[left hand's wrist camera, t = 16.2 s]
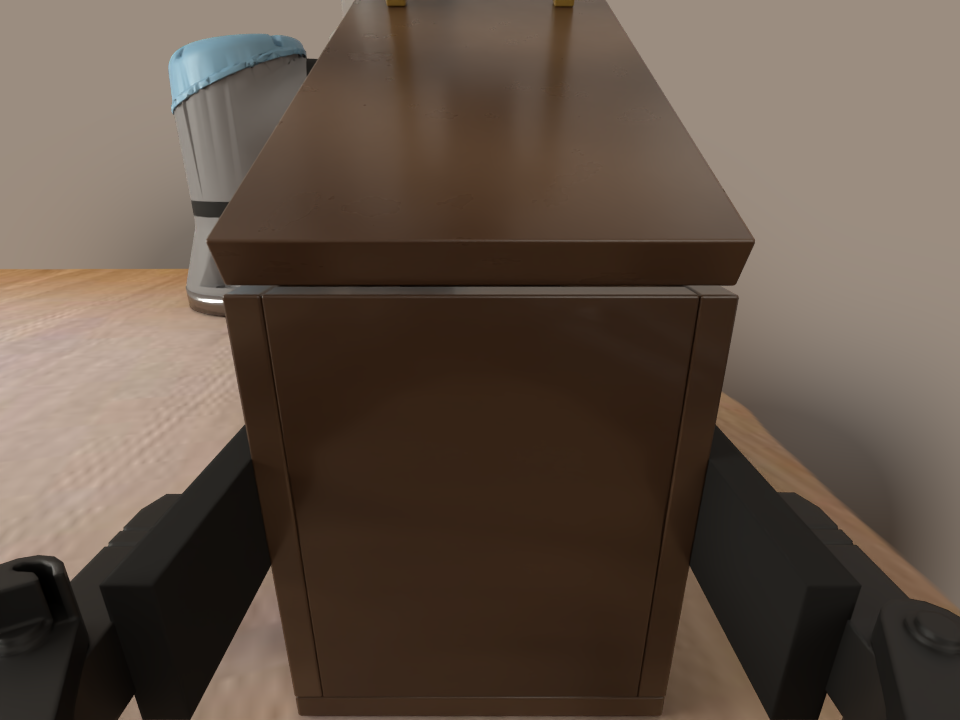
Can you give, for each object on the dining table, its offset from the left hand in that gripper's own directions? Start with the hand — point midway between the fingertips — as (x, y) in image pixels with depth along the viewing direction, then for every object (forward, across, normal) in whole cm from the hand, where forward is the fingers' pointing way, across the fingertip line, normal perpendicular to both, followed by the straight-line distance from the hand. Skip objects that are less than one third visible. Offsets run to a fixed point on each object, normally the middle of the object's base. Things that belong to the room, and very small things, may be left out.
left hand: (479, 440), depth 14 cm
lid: (+5, 0, +9) cm, 10 cm away
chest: (+5, 0, -6) cm, 8 cm away
